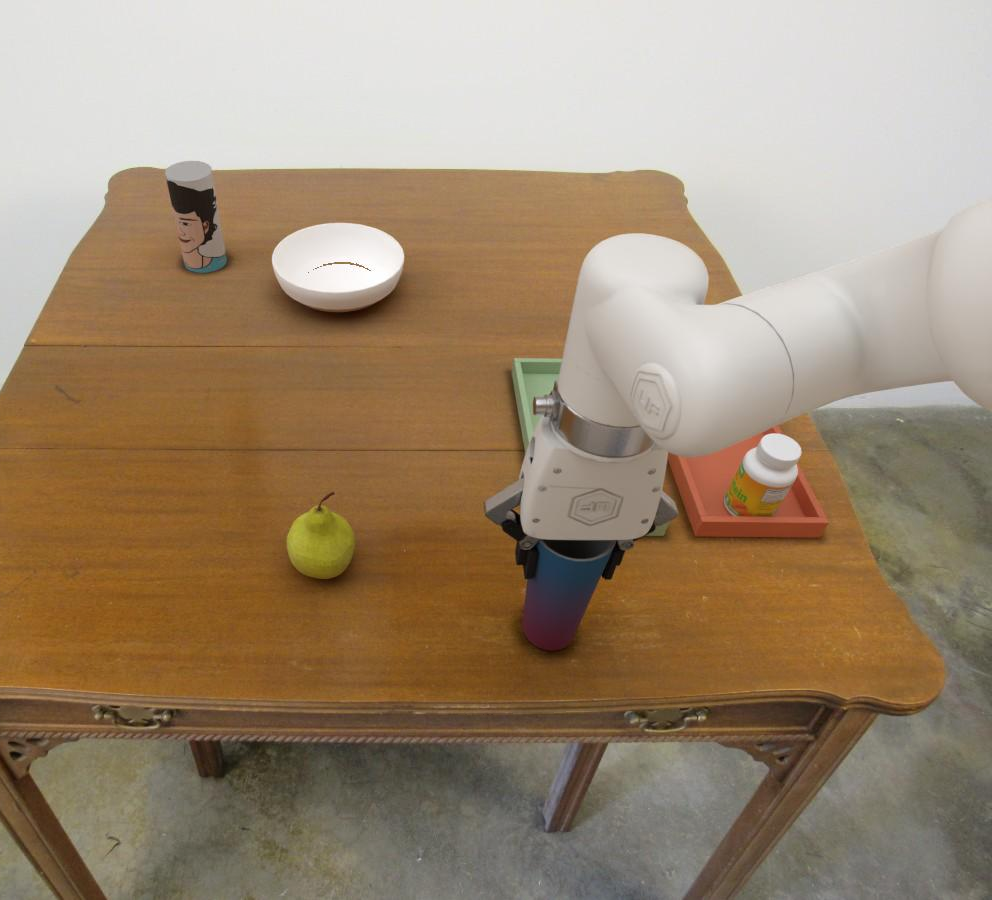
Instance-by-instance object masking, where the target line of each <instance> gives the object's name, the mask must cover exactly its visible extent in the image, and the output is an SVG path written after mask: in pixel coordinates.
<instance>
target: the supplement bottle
mask: <svg viewBox="0 0 992 900" xmlns="http://www.w3.org/2000/svg"><path fill="white" fill-rule="evenodd" d="M782 434H783V433H782ZM782 434H776V433H772V434H767V435H765V436H764V437H763V438H762V439H761V441H760V442H759V444H758V446H757V447H755V448H753V449H751V450H749V451H748V452H747V453H746V455H745V457H744V458H743V460H742V462H741V464H740V466H739V468H738V470H737V472H736V474H735V476H734V478H733V480H732V482H731V484H730V486H729V488H728V490H727V492H726V494H725V496H724V505H725V507H726V509H727V511H728V512H729V513H730V514H731V515H732V516H744V517H773V516H774V515H775V513H776V512H777V510H778V508H779V507H780V505H781V503H782V502H783V500H784V498H785V497H786V495H787V493H788V491H789V490H790V488H791V486H792V485H793V483H794V481H795V480H796V477H797V475H798V467H797V462H798V463H799V460H800V459H801V457H802V452H803V451H802V447H801V446H800V444H799V443H798V442H797V441H796V440H795V439H793V438H792V437H790V436H788V435H786V434H783V435H782Z"/></svg>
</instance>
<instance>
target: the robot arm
mask: <svg viewBox="0 0 992 900" xmlns="http://www.w3.org/2000/svg"><path fill="white" fill-rule="evenodd" d="M708 272H709V271H708V269H707V267H706V265H705V262H704V261H703V259H702V258H701V257H700V255H698V254H697V252H696V251H695V250H693V249H692V248H690V247H689V246H687V245H685V244H684V243H682V242H681V241H677V240H675V239H673V238H669V237H667V236H661V235H657V234H652V233H642V232H639V233H638V232H637V233H636V232H633V233H623V234H617V235H613V236H611V237H608V238H606V239H603V240H602V241H600V242H598V243H597V244H596V245H595V246H593V247H592V248H591V249H590V250H589V252H588V253H587V255H586V256H585V257H584V260H583V261H582V264H581V267H580V270H579V274H578V279H577V284H576V289H575V293H574V299H573V303H572V308H571V314H570V318H569V323H568V327H567V333H566V337H565V343H564V348H563V353H562V358H561V359H562V362H561V367H560V372H559V377H558V380H555V383H554V388H553V390H552V391H551V392H550V394H549V395H544V397H534V399H533V414H534V415H542V416H541V418H540V420H539V422H538V424H537V426H536V428H535V430H534V433H533V435H532V437H531V440H530V442H529V445H528V448H527V451H526V454H525V453H524V457H523V461H522V464H521V467H520V468H521V469H520V471H519V475H518V480H516V481H514V482H513V483H512V484H510V485H508V486H507V487H505V488H503V489H501V490H500V491H498V492H497V493H496V494H493V495H491V496H490V497H489V498H487V499H485V500H484V501H483V510H484V516H485V517H486V518H487V519H488V520H490V521H491V522H492V523H494V524H495V525H496V526H500V527H501V528H502V532H504V533H505V534H506V535H508V536H510V537H511V538H512V539H513V540H515V541H516V544H515V550H514V557H515V564H516V566H522V570H523V578H524V580H527V579H531V578H533V577H534V573H535V569H536V564H537V560H538V556H539V551H538V549H537V548H536V544H537V542H538V541H539V540H540V539H547V540H616V544H615V546H614V548H613V551H612V553H611V555H610V557H609V560H608V562H607V564H606V566H605V569H604V571H603V573H602V575H601V579H604V580H605V581H607V580H609V581H611V580H612V579H613V576H614V573H615V571H616V568H617V566H618V567H619V566H620V565H622V561H623V559H624V556H625V553H626V551H629V550H632V549H634V548H635V547H634V546H635V542H636V541H638V540H639V539H641V538H644V537H647V536H646V535H648V534H650V533H651V532H653V531H654V530H655V527H656V526H658V525H659V526H661V525H663V524H665V523H667V522H669V521H670V522H671V521H673V520H675V519H677V518H678V517H679V515H680V513H679V511H678V507H677V505H676V502H675V500H673V498H671V496H669V495H668V494H667V493H666V492H665V491H664V490H663V488H664V484H665V483H664V482H665V476H666V472H667V464H668V459H667V458H668V452H670V453H672V454H674V455H677V456H682V457H701V456H706V455H709V454H712V453H716V452H718V451H721V450H723V449H725V448H728V447H730V446H732V445H735V444H737V443H739V442H742V441H744V440H746V439H748V438H751V437H753V436H755V435H758V434H760V433H762V432H765V431H767V430H769V429H770V428H773V427H775V426H777V425H778V426H779V425H782V424H785V423H786V422H788V421H791V420H793V419H796V418H798V417H799V416H802V415H804V414H807V413H809V412H812V411H814V410H817V409H819V408H822V407H824V406H827V405H829V404H832V403H834V402H837V401H840V400H844V399H847V398H851V397H854V396H855V397H856V396H859V395H865V394H870V393H876V392H883V391H888V390H894V389H900V388H907V387H915V386H921V385H927V384H936V383H945V382H954V384H955V385H956V386H957V388H959V390H960V391H961V392H962V393H963V394H964V395H965V396H966V397H967V398H969V399H970V400H971V401H972V402H974V403H975V404H976V405H978V406H980V407H981V408H983V409H984V410H987V411H988V412H990V413H992V195H991V196H988V197H985V198H983V199H980V200H978V201H976V202H974V203H972V204H969V205H967V206H965V207H963V208H961V209H960V210H958V211H957V212H955V213H954V214H953V215H952V216H951V217H950V218H949V219H948V221H947V222H946V224H945V226H943V227H941V228H938V229H936V230H933V231H931V232H928V233H925V234H922V235H920V236H917V237H913V238H911V239H907V240H905V241H902V242H899V243H896V244H893V245H891V246H888V247H885V248H882V249H879V250H875V251H873V252H870V253H867V254H863V255H860V256H858V257H855V258H852V259H849V260H846V261H842V262H841V263H837V264H834V265H832V266H828V267H825V268H822V269H819V270H815V271H813V272H809V273H807V274H804V275H801V276H798V277H795V278H791V279H788V280H785V281H782V282H779V283H777V284H772V285H770V286H767V287H763V288H760V289H757V290H754V291H751V292H748V293H745V294H743V295H740V296H737V297H733V298H731V299H728V300H724V301H722V302H719V303H716V304H705V301H706V298H707V294H708V290H709V280H710V279H709V273H708ZM519 506H520V509H519V512H517V510H515V508H517V507H519ZM670 522H669V523H670Z"/></svg>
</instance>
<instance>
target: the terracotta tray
mask: <svg viewBox="0 0 992 900" xmlns="http://www.w3.org/2000/svg"><path fill="white" fill-rule="evenodd" d="M772 433H776V434H782V435H784V434H783V432H782V430H781V428H780V426H779V425H777V426H775V427H773V428H770V429H769V430H767V431H765V432H762V433H760V434H758V435H755V436H753V437H751V438H748V439H746V440H744V441H742V442H739V443H737V444H735V445H732V446H730V447H728V448H725V449H723V450H721V451H718V452H716V453H712V454H709V455H706V456H701V457H682V456H677V455H674V454H672V453H670V452H668V458H667V463H668V464H669V465H668V466H669V467H670V471H671V473H672V476H673V480H674V482H675V484H676V487H677V490H678V493H679V495H680V498H681V501H682V503H683V506H684V509H685V512H686V515H687V518H688V521H689V523H690V527H691V530H692V532H693V535H694V537H702V538H703V537H706V538H707V537H710V538H711V537H713V538H714V537H717V538H719V537H720V538H799V539H800V538H801V539H802V538H803V539H805V538H812V539H813V538H814V539H820V538H821V536H822V534H823V533H824V532H825V530H826V528H827V527H828V526H829V524H830V521H829V519H828V518H827V515H826V513H825V512H824V510H823V508H822V506H821V504H820V502H819V500H818V499H817V497H816V495H815V492H814V491H813V489H812V487H811V485H810V483H809V481H808V479H807V477H806V475H805V474H804V472H803V470H802V468H801V466H800V464H799V461H798V462H797V467H798V475H797V477H796V480H795V481H794V483H793V485H792V486H791V488H790V490H789V491H788V493H787V495H786V497H785V498H784V500H783V502H782V503H781V505H780V507H779V508H778V510H777V512H776V513H775V515H774V516H773V517H744V516H732V515H731V514H730V513H729V512H728V511H727V509H726V507H725V505H724V496H725V494H726V492H727V490H728V488H729V486H730V484H731V482H732V480H733V478H734V476H735V474H736V472H737V470H738V468H739V466H740V464H741V462H742V460H743V458H744V457H745V455H746V453H747V452H748V451H749V450H751V449H753V448H755V447H757V446H758V444H759V442H760V441H761V439H762V438H763V437H764V436H765V435H767V434H772Z"/></svg>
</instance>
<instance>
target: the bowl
mask: <svg viewBox="0 0 992 900" xmlns="http://www.w3.org/2000/svg"><path fill="white" fill-rule="evenodd" d="M334 262H351V263H354V264H356V263H357V264H359V265H362V266H364V267H365V268H368V269H369V270H371V271H369V270H367V269H365V268H363V267H359V266H356V265H350V264H332V265H326V266H323V264H328V263H334ZM404 263H405V253H404V248H403V247H402V245H401V244H400V242H398V241H397V239H396V238H394V237H393V236H392V235H390V234H389V233H386V232H385V231H383V230H381V229H378V228H376V227H372V226H368V225H364V224H359V223H353V222H352V223H350V222H328V223H322V224H316V225H312V226H311V225H310V226H308V227H304V228H302V229H299V230H296V231H294V232H292V233H290V234H289V235H287V236H286V237H285V238H283V239H282V240H281V241H280V242H279V243H278V244H277V245H276V246H275V248H274V249H273V251H272V254H271V265H272V269H273V273H274V276H275V278H276V280H277V282H278V285H279V286H280V287H281V289H282V290H283V291H284V293H285V294H286V295H287V296H289V298H291V299H292V300H294V301H296V302H298V303H300V304H302V305H304V306H306V307H307V308H310V309H314V310H317V311H322V312H327V313H348V312H355V311H359V310H362V309H366V308H368V307H370V306H372V305H375V304H376V303H378V302H379V301H381V300H383V299H384V298H386V297H387V296H389V295H390V294H391V293H392V292H393V291H394V290H395V289H396V287H397V285H398V283H399V282H400V279H401V277H402V274H403V269H404ZM320 266H322V267H320ZM317 267H319V268H317ZM315 268H317V269H315ZM313 269H314V270H313ZM308 272H309V273H308Z"/></svg>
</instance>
